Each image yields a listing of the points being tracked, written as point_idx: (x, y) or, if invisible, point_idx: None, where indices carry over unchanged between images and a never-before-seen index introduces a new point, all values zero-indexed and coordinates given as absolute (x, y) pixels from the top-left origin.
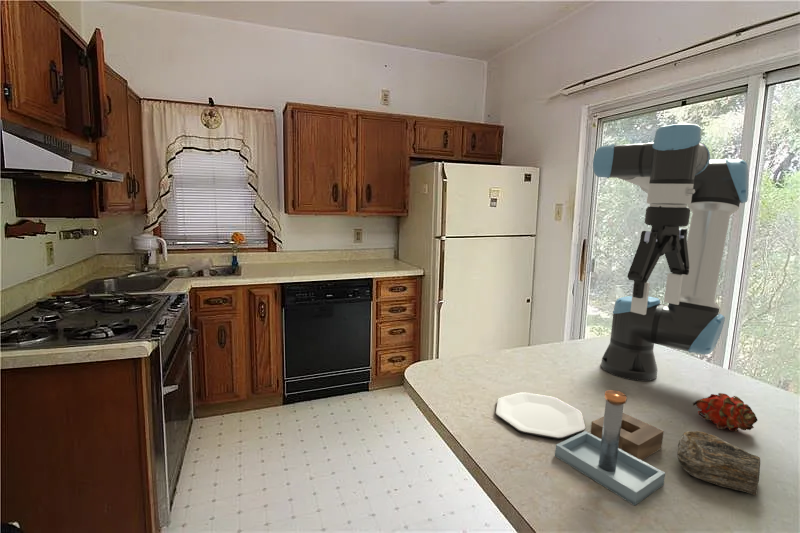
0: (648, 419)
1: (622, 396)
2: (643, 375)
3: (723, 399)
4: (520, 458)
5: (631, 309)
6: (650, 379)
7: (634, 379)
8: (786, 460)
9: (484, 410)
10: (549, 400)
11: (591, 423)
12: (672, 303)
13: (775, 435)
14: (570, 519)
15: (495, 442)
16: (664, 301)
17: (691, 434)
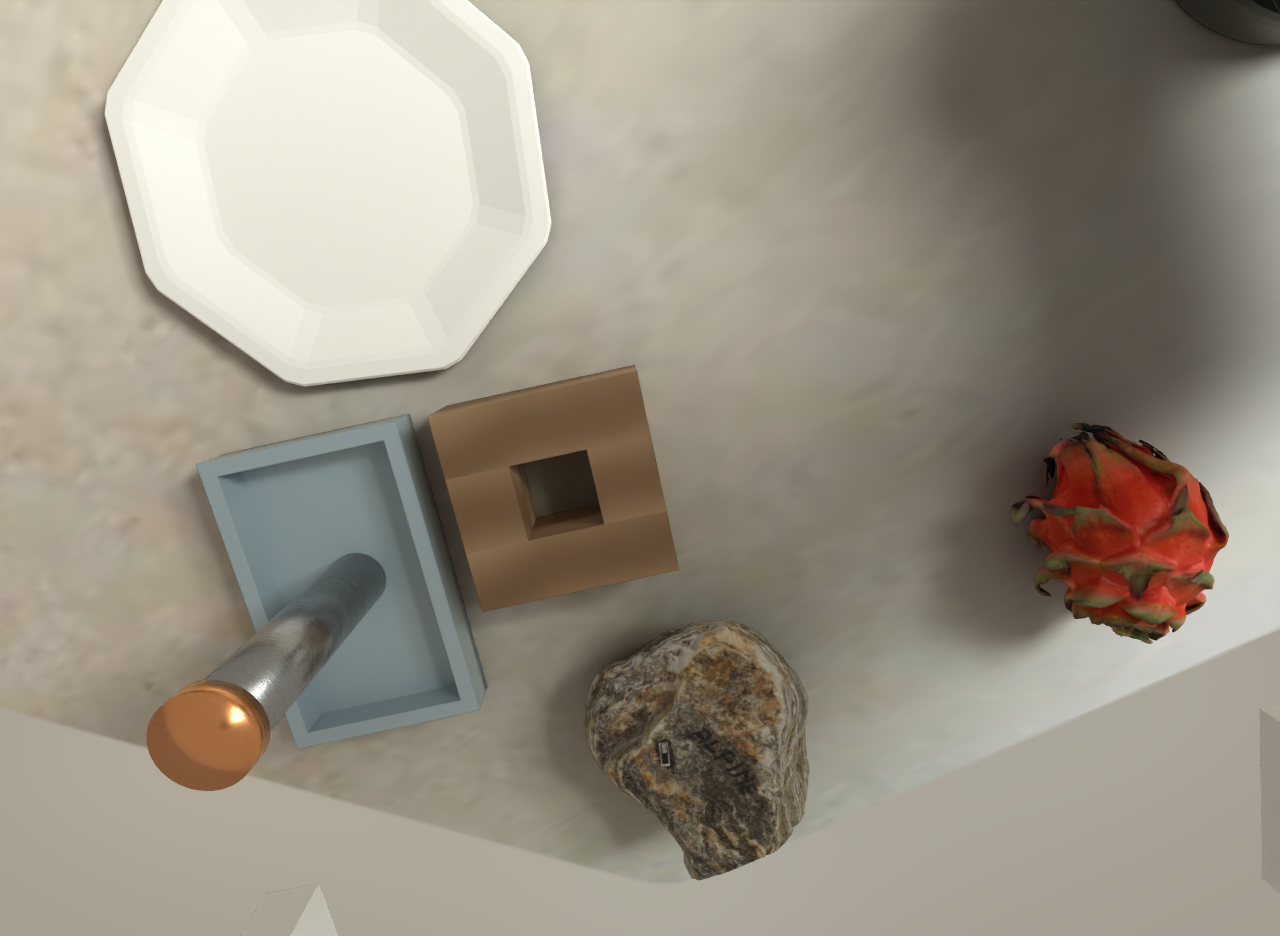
0: (831, 369)
1: (221, 770)
2: (1248, 21)
3: (1145, 549)
4: (78, 423)
5: (253, 930)
6: (1272, 43)
7: (1185, 7)
8: (1025, 722)
9: (88, 20)
10: (480, 67)
11: (430, 415)
12: (1265, 825)
13: (1190, 618)
14: (83, 707)
15: (22, 297)
16: (1272, 718)
17: (715, 665)
